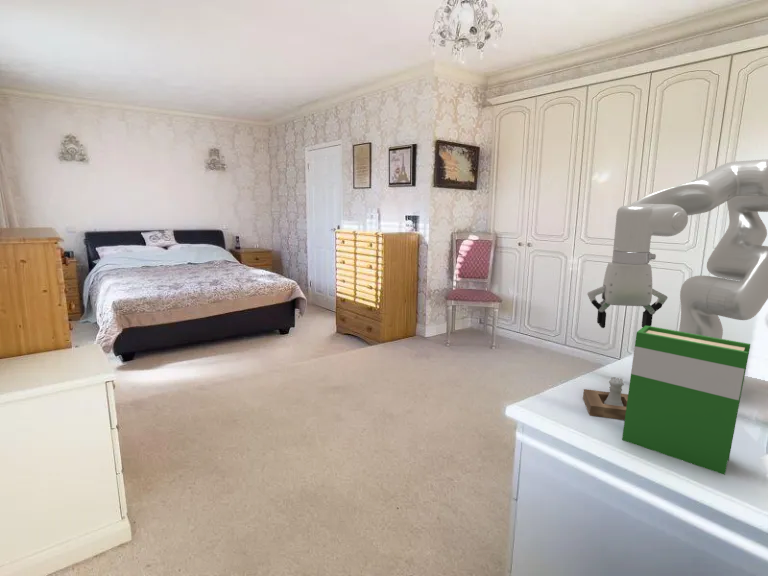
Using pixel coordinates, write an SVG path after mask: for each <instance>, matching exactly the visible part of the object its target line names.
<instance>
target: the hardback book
mask: <svg viewBox="0 0 768 576" xmlns="http://www.w3.org/2000/svg"><path fill="white" fill-rule="evenodd" d="M750 349H751V343H746V342H743V341H742V342H741V341H736V340H730V339H726V338H725V339H724V338H722V339H719V338H714V337H708V336H703V335H697V334H691V333H686V332H680V331H679V330H673V329H669V328H668V329H667V328H662V327H657V326H652V325H651V326H646V325H645V326H644V327H641V328H640V329H639V330H638V331H636V335H635V341H634V349H633V357H632V365H631V372H630V377H629V378H630V380H629V384H628V385H629V386H628V393H627V394H628V400H627V407H626V414H625V420H624V423H623V431H622V438H621V440H622V441H624V442H627V443H630V444H633V445H635V446H638V447H642V448H644V449H648V450H650V451H653V452H656V453H659V454H663V455H664V456H668V457H671V458H674V459H677V460H680V461H682V460H683V461H682V462H686V463H688V464H691V463H692V464H691V465H694V466H697V467H699V468H704V469H706V470H708V471H712V472H715V473H717V474H721V475H724V476H725V475H726V472H727V465H728V461H729V459H730V455H731V451H732V450H731V449H732V445H733V440H734V439H733V438H734V436H735V435H734V434H735V429H736V423H737V420H738V413H739V409H740V402H741V397H742V391H743V386H744V382H745V377H746V376H745V375H746V370H747V366H748V361H749V360H748V359H749V354H750Z"/></svg>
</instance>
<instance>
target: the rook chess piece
mask: <svg viewBox="0 0 768 576" xmlns="http://www.w3.org/2000/svg"><path fill="white" fill-rule="evenodd" d="M608 383H609V391H608V392H609V395H608V398H606V399H607V400H605V401H604V404H608V405H616V406H623V403H622V401H621V394H622V391H623V389H622V387H623V386H624V382H623V379H622V378H620V377H617V378H616V377H615V376H613V377H611V378H610V380H609V381H608Z"/></svg>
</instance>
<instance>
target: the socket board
mask: <svg viewBox="0 0 768 576" xmlns="http://www.w3.org/2000/svg"><path fill="white" fill-rule="evenodd" d="M609 392H610V391H602V390H595V389H585V388H584V389H583V394H582V400H583V402H584V405H585V407H586V409H587V412H588V414H589V416H593V417H597V418H598V417H599V418H606V419H613V420H614V419H615V420H620V421H621V420H622V421H625V414H626V407H627V400H628V393H621V401H622V403H623V406H616V405H608V404H604V401H605V400H607V399H606V398H608V395H609Z"/></svg>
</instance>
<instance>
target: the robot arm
mask: <svg viewBox="0 0 768 576" xmlns="http://www.w3.org/2000/svg"><path fill="white" fill-rule="evenodd" d="M724 203H727V211H728V218H729V220H728V221H729V223H728V228H727V229H726V231H725V233H724V234H723V235H722V237H721V238H720V240H719V241H718V244H716V246H715V248H714V249H713V251H712V252H711V253H710V256H709V257H708V259H707V261H706V269H707V271H708V272H709V274H710V275H713V276H710V275H693V276H692V277H689V278H687V279H685V280H684V281H683V283H682V285H681V287H680V293H679V296H680V297H679V299H680V319H679V320H680V323H679V329H678V331H680V332H686V333H691V334H697V335H703V336H708V337H714V338H719V339H723V334H724V332H723V331H724V329H723V324H722V322H721V320H720V317H723V318H727V319H732V320H736V321H737V320H738V321H747V320H750V319H753V318H754V317H756V315H758V313H759V312H760V311H761V309H762V308H763V306H764V305H765V304H766V302H767V301H768V245H763V244H764V242H765V241H766V238H767V236H768V231H767V227H766V225H765V223H764V222H763V220H762V219H761V217H760V215H759V213H768V159H766V158H765V159H764V158H763V159H755V160H753V159H752V160H739V161H737V160H736V161H730V162H725V163H724V164H721V165H719V166H717V167H716V168H714V169H711V170H710V171H708V172H706V173H704V174H703V175H701V176H699V177H697V178H695V179H693V180H691V181H689V182H685V183H682V184H679V185H675V186H673V187H669V188H666V189H662V190H660V191H659V190H658V191H656V192H652V193H651V194H647V195H645V196H643V197H642V198H639V199H638V200H636V201H634V202H632V203H631V204H629V205H623V206H620V207H619V208H618V209H617V211H616V216H615V226H614V227H615V228H614V239H613V250H612V258H611V260H612V261H611V262H608V263H607V266H606V269H605V273H604V278H603V283H602V286H600V287H597V288H596V289H593V290H591V291H588V292H587V294H586V295H587V297H588V299H589V301H590V303H591V305H592V306H594V307H595V308H596V309H597V316H596V317H597V318H596V319H597V320H596V321H597V322H596V323H597V324H598V325H599V327H600V328H601V329H605V328H606V320H607V312H606V310H607V309H608V308H609V307H610V306H624V307H625V306H626V307H643V309H644V310H643V311H642V319H641V328H643V327H644V326H645V325H646V326H652V323H653V315H655V313H656V312H657V311H658V310H659V309H661V308H662V307H663V305H664V304H665V302H666V301H667V300H668V296H667V295H666V294H664V293H662V292H660V291H658V290H656V289H654V288H653V272H652V265H651V264H649V263H650V261H652V260H653V261H654V260H656V257H657V255H656V253H652V252H651V251H650V249H651V242H652V236H655V237H667V238H668V237H672V236H676V235H678V234H680V233H682V232H683V231H684V230H685V229H686V227H687V225H688V222H689V216H695V215H699V214H703V213H704V214H705V213H709V212H711V211H712V210H714V209H715V208H718V207H719V206H721V205H722V204H724ZM599 295H601V301H600V302H598V301H597V299H596V297H597V296H599ZM653 296H655V298H657V300H656V301H655V302H653V303H652V299H653ZM651 303H652V304H651Z"/></svg>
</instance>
